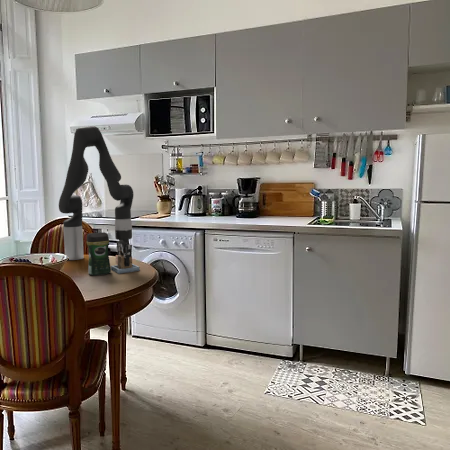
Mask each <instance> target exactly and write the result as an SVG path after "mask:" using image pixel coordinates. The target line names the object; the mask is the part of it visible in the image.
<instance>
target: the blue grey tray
mask: <svg viewBox="0 0 450 450" xmlns="http://www.w3.org/2000/svg"><path fill="white" fill-rule="evenodd" d="M110 267H111V271H113V273H116V274H118V275H120V274H126V273H127V274H128V273H133V272H140V271H141V269H140V266H138V265H136V264H134V263H132V268H125V269H119V268H118V264H115V265H110Z"/></svg>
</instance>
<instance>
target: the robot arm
mask: <svg viewBox="0 0 450 450" xmlns="http://www.w3.org/2000/svg"><path fill="white" fill-rule="evenodd" d="M73 135H74V136H73V142H72V150H71V157H70V161H69V165H68V168H67V172H66V177H65V178H66V179H65V182H64V185H63V189H62V191H61V194H60V197H59V200H58V210H59V212H60V213H61V214H65V215H66V214H72V215H71V216H70V217H69V218H67V219H65V220H63V221H62V222H63V223H62V224H63V243H64V245H63V246H64V256H65V255H67V256H68V257H69V260H68V261H75V260H77V261H78V260H83V259H84V258H85V255H84V240H83V238H84V236H83V234H84V233H83V202H82V201H83V200H82V197H81V196H80V195H78V194H77V195H75V194H74V193H75V192H76V191H77V190H78V189H80V188H81V186H82V185H83V184H84V183H86V180H87V177H88V173H89V165H88V162H87V160H86V159H85V156H84V155H85V150H86V148H91V147H95V149H96V150H97V152H98V155H99V156H98V157H99V160H98V161H99V162H98V166H99V167H98V169H99V170H100V172H101V175H102V176H103V178H104V179H105V181H106V183H107V189H108V193H109V195H110V196H111V197H112V199H113V200H115V201H117V202H118V201H119V205H117V206H115V208H114V234H115V235H114V236H115V237H114V238H115V239H116V250H117V254H118V255H124V265H125V266H130V261H129V258H130V257H132V258H133V255H132V254H133V244H131V243H130V241H129V240H131V239H133V225H132V223H133V222H132V213H131V211H132V210H131V209H132V205H133V200H134V189H133V188H132V186H131V185H129V184H120V181H121V179H122V175H121V173H120V171H119V170H118V168H117V166H116V164H115V163H114V161H113V158H112V156H111V154H110V151H109V149H108V146H107V144H106V141H105V139H104V136H103V134H102V132H101V130H100V129H99V128H98V127H97V126H92V125H90V126H89V125H88V126H80V127H78V128H76V130H75V131H74V134H73Z"/></svg>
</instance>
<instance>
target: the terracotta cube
mask: <svg viewBox="0 0 450 450" xmlns="http://www.w3.org/2000/svg"><path fill="white" fill-rule="evenodd" d="M118 255H119V254H118ZM118 255H117V254H116V255H115V264H116V265H118Z"/></svg>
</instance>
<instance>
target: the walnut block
mask: <svg viewBox="0 0 450 450" xmlns="http://www.w3.org/2000/svg"><path fill="white" fill-rule="evenodd" d="M129 261H130V266H125V265H124V255H119V254H118V264H117V265H118V268H119V269H125V268H132V264H133V256H132V257H130V258H129Z"/></svg>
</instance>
